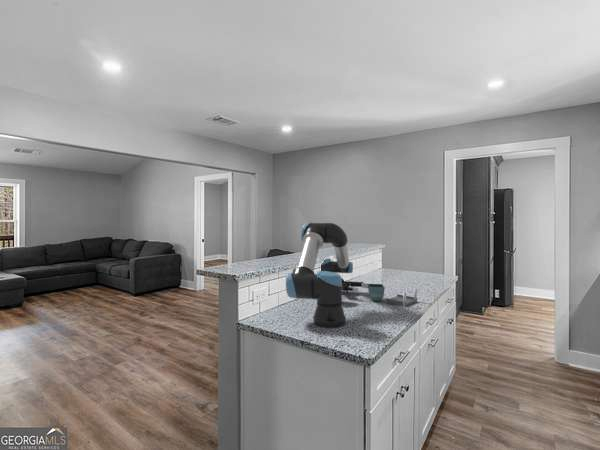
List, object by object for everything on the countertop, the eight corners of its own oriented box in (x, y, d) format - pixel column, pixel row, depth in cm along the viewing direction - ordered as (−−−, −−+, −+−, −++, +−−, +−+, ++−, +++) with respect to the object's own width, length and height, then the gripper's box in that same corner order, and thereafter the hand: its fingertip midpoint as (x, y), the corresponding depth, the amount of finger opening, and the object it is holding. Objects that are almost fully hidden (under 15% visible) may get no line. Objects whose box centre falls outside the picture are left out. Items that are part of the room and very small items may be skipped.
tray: (405, 306, 177) (405, 293, 177) (385, 302, 185) (385, 289, 185) (417, 301, 187) (417, 288, 187) (398, 298, 196) (398, 285, 196)
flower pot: (382, 298, 195) (382, 283, 195) (384, 302, 186) (384, 286, 186) (367, 298, 196) (367, 283, 196) (369, 302, 187) (369, 286, 187)
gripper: (348, 286, 221) (375, 291, 206) (324, 292, 203) (352, 298, 188) (348, 275, 221) (375, 279, 206) (324, 280, 203) (352, 285, 188)
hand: (364, 288), depth 197 cm, fingers open, 13 cm apart
